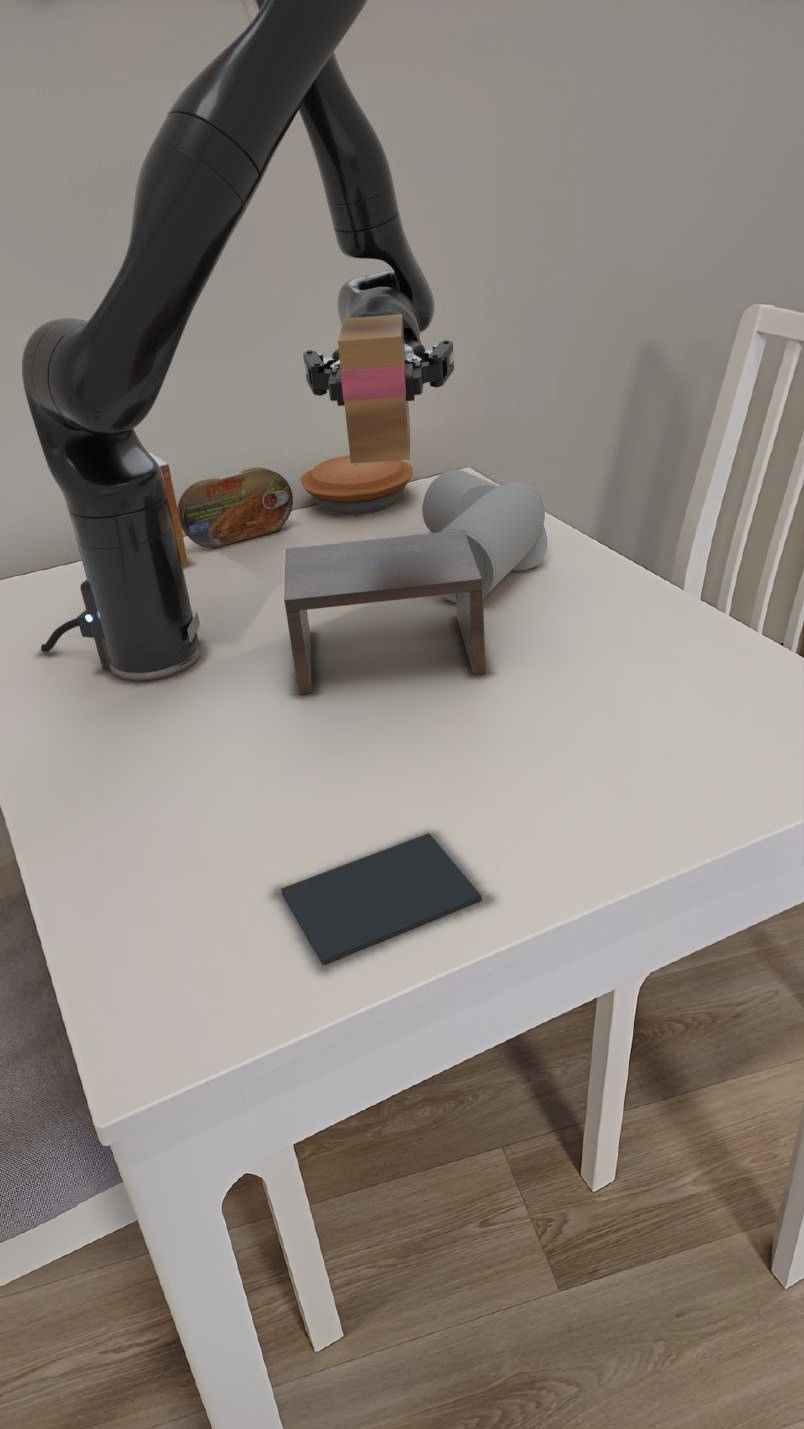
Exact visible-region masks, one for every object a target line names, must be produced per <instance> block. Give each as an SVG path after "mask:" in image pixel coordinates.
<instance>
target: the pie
mask: <svg viewBox="0 0 804 1429" xmlns="http://www.w3.org/2000/svg"><path fill="white" fill-rule="evenodd" d="M413 474H414V470H413V467H412V465H410V464H409V463H408V462H407V461H405V460H396V461H381V462H367V463H353V464H351V461H350V454H347V455H341V456H337V457H333V458H329V459H326V460H324V461H322V462H319V463H318V464H316V465H314V467H313V468H311V469H309V470H308V471H306V472H305V473H304V474H302V476H300V484H301V485H302V487H303V489H304V490H305V492H307V493H308V494H309V495H311V496H312V498H313V500H315V501H316V502H317V504H318V505H319V506H320V507H321V508H322V509H323V510H324V511H327V512H329V513H333V514H338V515H364V514H369V513H370V514H371V513H375V512H377V511H382V510H385V509H387V508H389V507H391V506H393V505H394V504H396V503H397V502H398V501H399V499H400V498H401V496H402V494H403V493H404V490H405V488H406V486H407V485H408V484H409V482H410V481H411V479H412V476H413Z"/></svg>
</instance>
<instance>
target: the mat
mask: <svg viewBox="0 0 804 1429" xmlns="http://www.w3.org/2000/svg"><path fill="white" fill-rule="evenodd" d="M280 891H281V894H282V895H283V897H284V899H285V902H286V903H287V904H288V906H289V909H291V911H292V913H293V915H294V916H295V918H296V920H297V922H298V924H299V925H300V927H301V929H302V930H303V932H304V934H305V935H306V938H307V939H308V942H310V944H311V946H312V948H313V949H314V951H315V953H316V955H317V957H318V958H319V960H320V962H321V964H322V965H326V964H328V963H330V962H334V961H336V960H337V959H341V958H344V957H345V956H348V955H350V954H352V953H355V952H357V951H360V950H362V949H365V948H367V947H371V946H373V945H375V944H377V943H379V942H382V941H384V940H387V939H390V938H393V937H394V936H396V935H400V934H401V933H404V932H407V931H410V930H411V929H414V928H417V927H419V926H422V925H424V924H426V923H428V922H430V921H433V920H436V919H438V918H441V917H443V916H446V915H448V914H450V913H453V912H456V911H458V910H460V909H463V908H465V907H468V906H470V905H472V904H475V903H477V902H480V901H482V900H483V898H482V894H480V892H479V891H478V890H477V888H476V887H475V886H474V885H473V883H472V882H471V881H470V880H469V878H467V876H465V874H464V873H463V872H462V870H461V869H460V868H459V866H457V864H456V863H455V862H454V861H453V860H452V859H451V857H450V856H449V855H448V854H447V852H446V851H445V850H444V849H443V847H441V845H440V844H439V843H438V842H437V841H436V839H435V838H434V837H433V836H432V835H431V833H430V832H428V833H425V834H423V835H420V836H418V837H415V838H411V839H409V840H406V841H404V842H401V843H399V844H396V845H393V846H391V847H388V848H385V849H382V850H379V851H377V852H375V853H372V854H369V855H367V856H364V857H361V858H359V859H356V860H353V861H351V862H348V863H345V864H343V865H340V866H337V867H335V868H332V869H330V870H327V871H324V872H322V873H319V874H316V875H314V876H313V875H312V876H311V877H309V878H305V879H303V880H299V881H297V882H294V883H292V884H289V885H287V886H284V887H281V888H280Z"/></svg>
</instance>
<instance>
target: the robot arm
mask: <svg viewBox="0 0 804 1429" xmlns="http://www.w3.org/2000/svg"><path fill="white" fill-rule="evenodd" d="M254 2H255V5H256V6H257V9H258V12H257V13H256V15H255V16H254V18H253V19H252V20H251V21H250V22H249V24H248V25H247V26H246V27H245V28H244V30H243V31H241V33H240V34H239V35H238V36H237V37H236V38H235V39H234V40H232V42H231V43H229V44H228V45H227V46H226V48H224V49H223V50H222V51H221V52H220V53H219V54H218V55H217V56H215V57H214V58H213V59H212V60H211V61H210V62H209V63H208V64H207V65H206V66H205V67H204V68H203V69H202V70H201V71H200V72H199V74H197V75H196V76H195V77H194V78H193V79H192V81H190V82H189V84H188V85H186V86H185V88H184V89H183V90H182V92H181V93H180V94H179V95H178V97H177V98H176V100H175V101H174V103H173V104H172V106H171V108H170V109H169V111H168V113H167V115H166V116H165V119H164V121H163V122H162V124H161V126H160V128H159V130H158V132H157V134H156V136H155V137H154V139H153V141H152V143H151V146H150V147H149V149H148V151H147V153H146V155H145V157H144V159H143V162H142V164H141V167H140V169H139V173H138V177H137V181H136V187H135V193H134V198H133V199H134V200H133V208H132V218H131V228H130V236H129V241H128V246H127V249H126V253H125V256H124V258H123V262H122V264H121V266H120V268H119V269H118V272H117V275H116V276H115V278H114V280H113V282H111V284H110V287H109V289H108V290H107V292H106V293H105V296H103V299H102V300H101V302H100V303H99V305H98V307H97V308H96V309H95V311H94V313H93V314H92V315H91V317H90V318H89V320H86V319H81V318H74V317H61V318H56V319H55V318H54V319H52V320H49V321H46V322H45V323H43V324H41V325H40V326H38V327H37V328H36V329H35V330H34V331H33V332H32V334H31V335H30V336H29V338H28V340H27V341H26V344H25V346H24V349H23V352H22V358H21V377H22V384H23V390H24V393H25V394H24V395H25V397H26V401H27V405H28V408H29V413H30V415H31V418H32V421H33V425H34V428H35V431H36V435H37V438H38V441H39V444H40V447H41V450H42V453H43V456H44V459H45V462H46V466H47V468H48V470H49V472H50V475H51V476H52V478H53V480H54V482H55V483H56V485H57V487H58V488H59V490H60V491H61V493H62V496H63V498H64V501H65V505H66V508H67V511H68V514H69V518H70V522H71V525H72V529H73V533H74V537H75V540H76V543H77V547H78V551H79V555H80V559H81V563H82V567H83V570H84V574H85V577H86V579H85V580H84V581H82V582H81V584H80V587H79V589H80V594H81V597H82V601H83V605H84V607H85V609H84V611H82V612H81V613H80V614H79V615H78V616H77V617H76V618H73V619H71V620H69V621H67V622H64V623H62V624H61V625H60V626H58V627H57V628H56V629H54V631H53V632H52V633H51V635H50V636H49V638H48V639H47V641H46V642H45V643H42V644H41V646H40V651H41V652H42V653H48V652H50V651H52V649H53V648H54V647H55V645H56V644H57V642H58V641H59V640H60V638H61V637H62V636H63V635H64V634H65V633H67V632H68V631H70V630H72V629H74V628H78V627H79V630H80V634H81V637H82V638H91V639H92V638H93V641H94V643H95V647H96V650H97V651H96V652H97V654H98V658H99V662H100V665H101V669H102V670H103V671H109V672H110V671H111V673H112V674H113V675H114V676H116V677H118V678H121V679H123V680H129V681H151V680H152V681H153V680H158V679H162V678H166V677H170V676H172V675H175V674H178V673H180V672H182V671H184V670H186V669H188V668H190V666H192V665H193V664H194V663H195V662H197V661H198V659H199V657H200V656H201V654H202V648H201V642H200V640H199V638H198V636H199V635H198V632H197V631H198V629H199V627H200V625H201V622H200V619H199V612H198V611H196V612H195V614H193V610H192V604H191V599H190V596H189V590H188V587H187V581H186V577H185V572H184V568H183V567H184V566H182V562H181V558H180V553H179V548H178V543H177V539H176V534H175V529H174V525H173V520H172V516H171V511H170V506H169V502H168V497H167V493H166V488H165V483H164V479H163V475H162V471H161V469H160V466H159V465H158V463H157V462H156V461H155V459H154V458H153V457H152V456H151V455H150V454H149V453H148V452H149V451H148V450H147V449H146V447H145V446H144V445H143V443H142V442H141V440H140V439H139V437H138V434H137V433H136V430H135V428H136V427H138V426H139V425H140V424H142V422H143V421H144V420H145V418H146V417H147V416H148V414H149V413H150V411H151V410H152V408H153V406H154V405H155V403H156V401H157V398H158V396H159V394H160V393H161V390H162V387H163V384H164V382H165V380H166V377H167V375H168V372H169V370H170V367H171V364H172V362H173V360H174V357H175V354H176V352H177V349H178V347H179V344H180V342H181V340H182V336H183V334H184V331H185V329H186V327H187V324H188V322H189V319H190V317H191V315H192V313H193V310H194V309H195V306H196V304H197V303H198V300H200V297H201V295H202V293H203V291H204V289H205V287H206V286H207V284H208V282H209V280H210V278H211V276H212V274H213V272H214V270H215V269H216V266H217V264H218V262H219V261H220V258H221V256H222V255H223V252H224V251H225V248H226V247H227V244H228V242H229V241H230V239H231V237H232V235H233V234H234V232H235V230H236V229H237V227H238V225H239V224H240V222H241V220H242V219H243V217H244V215H245V213H246V211H247V209H248V208H249V206H250V204H251V202H252V200H253V198H254V196H255V194H256V192H257V191H258V189H259V188H260V187H259V186H260V185H261V183H262V181H263V178H264V177H265V175H266V173H267V170H268V169H269V166H270V164H271V162H272V160H273V158H274V156H275V154H276V152H277V150H278V149H279V147H280V145H281V143H282V141H283V140H284V138H285V136H286V133H288V130H289V129H290V127H291V125H292V123H293V122H294V120H295V117H296V116H297V114H298V112H299V115H300V117H301V120H302V123H303V125H304V128H305V131H306V133H307V136H308V139H309V142H310V145H311V148H312V151H313V155H314V158H315V160H316V164H317V167H318V171H319V175H320V179H321V182H322V187H323V190H324V194H325V198H326V203H327V207H328V211H329V215H330V219H331V223H332V227H333V230H334V236H335V239H336V243H337V245H338V249H339V251H340V252H341V253H342V254H343V255H344V256H345V257H348V258H352V259H359V260H377V261H383V262H384V263H386V264H387V265H388V266H389V267H390V268H391V269H387V270H383V271H378V272H375V273H370V274H366V275H362V276H358V277H353V278H351V279H349V280H347V281H345V283H343V284H342V285H341V288H340V289H339V291H338V295H337V302H336V303H337V315H338V318H339V321H340V324H341V326H342V324H343V320H344V318H357V317H370V316H383V315H397V314H402V320H403V334H404V342H405V362H406V364H405V384H406V401H408V402H415V400H416V399H415V396H421V395H422V394H423V393H424V392H423V391H424V390H423V389H424V385H425V384H427V383H429V386H430V387H433V388H440V387H443V386H444V385H445V384H446V382H447V381H448V379H449V378H450V377H451V375H452V373H453V372H454V371H455V357H454V355H455V354H454V341H452V340H449V339H445V340H443V341H439V343H438V344H433V345H432V346H431V347H432V349H426V348H425V346H424V345H423V344H422V341H421V333H423V332H426V330H427V329H428V328H429V327H430V325H431V323H432V321H433V318H434V315H435V308H436V307H435V299H434V295H433V291H432V288H431V287H430V285H429V282H428V279H427V278H426V276H425V274H424V272H423V271H422V268H421V267H420V265H419V263H418V261H417V259H416V257H415V255H414V253H413V251H412V248H411V245H410V244H409V241H408V238H407V236H406V233H405V230H404V226H403V223H402V219H401V216H400V215H401V214H400V211H399V206H398V205H399V204H398V199H397V195H396V190H395V186H394V180H393V174H392V171H391V167H390V164H389V160H388V157H387V154H386V151H385V149H384V147H383V144H382V143H381V140H380V138H379V135H378V134H377V132H376V129H374V127H373V125H372V124H371V121H370V119H369V118H368V117H367V114H366V113H365V112H364V110H363V108H362V106H361V105H360V104H359V102H358V100H357V99H356V97H355V95H354V93H353V91H352V89H351V87H350V86H349V84H348V82H347V79H346V77H345V75H344V73H343V71H342V68H341V66H340V65H339V62H338V59H337V57H336V54H335V51H336V50H337V48H338V46H339V45H340V44H341V42H342V41H343V39H344V38H345V37H346V35H347V33H348V32H349V31H350V29H351V27H352V26H353V25H354V24H355V22H356V20H357V19H358V17H359V15H360V14H361V13H362V11H363V9H364V8H365V6H366V4H367V3H368V0H254ZM302 356H303V364H304V371H305V372H304V373H305V380H306V382H307V384H308V387H309V388H310V390H311V392H312V394H313V395H314V396H319V397H322V396H324V395H326V394H328V396H329V400H330V401H331V402H336V404H337V406H338V407H342V406H343V407H345V404H344V400H343V392H342V382H341V373H340V370H341V367H340V357H339V348H337V349H336V350H334V351H333V353H332V355H331V357H324V354H323V353H318V352H317V351H316V350H313V349H312V350H311V349H309V350H306V351H303V353H302Z"/></svg>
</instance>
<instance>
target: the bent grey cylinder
mask: <svg viewBox="0 0 804 1429" xmlns="http://www.w3.org/2000/svg"><path fill="white" fill-rule="evenodd" d="M421 506H422V507H421V512H422V519H423V523H424V524H425V527H426V529H428V531H430V533H438V532H448V531H457V530H464V531H465V534H466V537H467V539H468V542H469V545H470V547H471V550H472V553H473V556H474V558H475V561H476V564H477V566H478V569H479V572H480V574H481V577H482V584H483V590H482V591H483V599H484V598H485V597H486V596H488V595H489V593H490V592H492V591H493V589H494V588H495V587H496V586H497V585H498V584H499V583H500V582H501V581H502V580H503V579H504V578H505V577H506V576H507V575H508V574H509V573H510V572H514V571H515V572H520V571H526V570H530V569H532V568H534V567H536V566H537V565H538V564H540V562H541V561H542V560H543V559H544V558H545V556H546V553H547V550H548V534H547V531H546V528H545V519H546V511H545V510H546V509H545V508H546V507H545V503H544V500H543V498H542V496H541V495H540V492H538V490H536V489H535V488H534V487H532V486H530V485H528V484H526V483H522V482H521V483H520V482H510V483H505V484H502V485H497V484H496V483H493V482H490V481H488V480H487V479H484V478H481V477H479V476H477V475H474V474H472V473H470V472H467V471H465V470H463V469H462V470H461V469H450V470H447V471H445V472H443V473H441V474H440V475H438V476H437V477H436V478H435V479H434V480H433V481H432V482H431V483H430V484H429V486H428V488H427V490H426V492H425V494H424V496H423V500H422V505H421ZM440 596H441V597H443V598H444V599H445V600H447V601H450V602H452V603H454V604H456V593H455V594H446V595H440Z"/></svg>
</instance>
